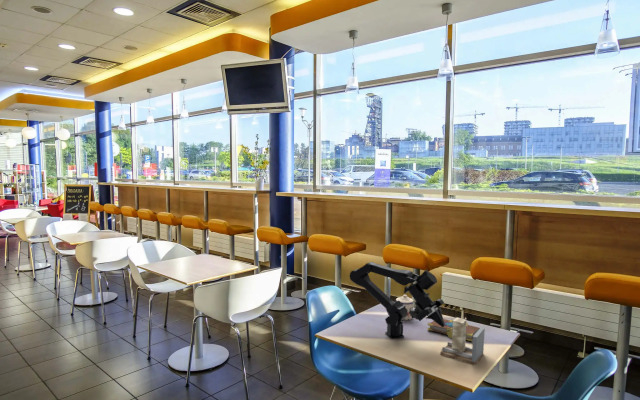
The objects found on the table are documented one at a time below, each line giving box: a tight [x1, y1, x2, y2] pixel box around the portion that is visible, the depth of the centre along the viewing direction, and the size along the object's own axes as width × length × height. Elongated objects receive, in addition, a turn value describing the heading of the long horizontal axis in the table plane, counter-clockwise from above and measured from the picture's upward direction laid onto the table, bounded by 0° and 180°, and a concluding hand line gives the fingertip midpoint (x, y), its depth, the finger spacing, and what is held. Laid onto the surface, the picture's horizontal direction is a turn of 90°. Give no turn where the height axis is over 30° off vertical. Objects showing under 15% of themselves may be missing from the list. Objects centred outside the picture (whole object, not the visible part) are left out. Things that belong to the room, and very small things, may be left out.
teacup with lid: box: [395, 294, 415, 321], centre depth 207 cm, size 12×9×12 cm
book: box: [426, 318, 481, 342], centre depth 189 cm, size 16×25×5 cm, turn 53°
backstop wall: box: [471, 327, 485, 362], centre depth 160 cm, size 2×12×10 cm, turn 144°
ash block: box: [451, 317, 467, 352], centre depth 165 cm, size 4×5×13 cm
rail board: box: [439, 341, 484, 365], centre depth 164 cm, size 14×12×2 cm
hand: (443, 326), depth 168 cm, fingers closed
